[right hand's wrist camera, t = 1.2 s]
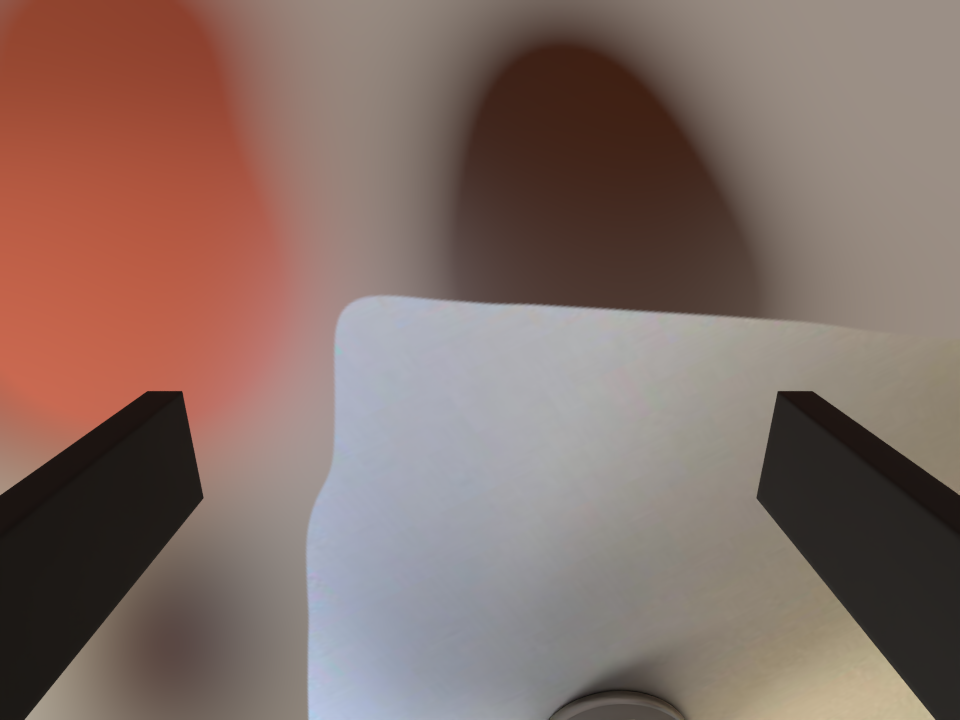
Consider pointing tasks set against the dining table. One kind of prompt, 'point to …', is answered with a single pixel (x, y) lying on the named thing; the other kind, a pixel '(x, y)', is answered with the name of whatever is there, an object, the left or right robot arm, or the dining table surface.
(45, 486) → the right robot arm
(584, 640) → the dining table surface
